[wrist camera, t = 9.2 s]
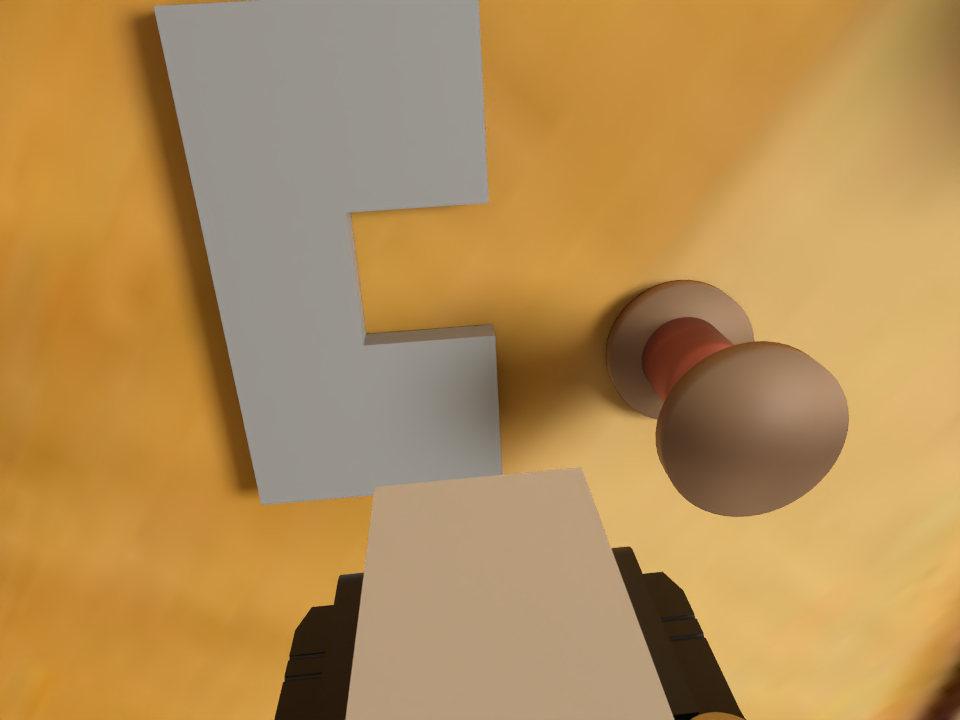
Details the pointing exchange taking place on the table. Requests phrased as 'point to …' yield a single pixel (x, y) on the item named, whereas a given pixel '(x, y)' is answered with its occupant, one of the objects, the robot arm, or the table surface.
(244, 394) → the notched board
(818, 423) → the spool
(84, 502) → the table surface
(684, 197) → the table surface
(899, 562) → the table surface
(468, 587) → the block
